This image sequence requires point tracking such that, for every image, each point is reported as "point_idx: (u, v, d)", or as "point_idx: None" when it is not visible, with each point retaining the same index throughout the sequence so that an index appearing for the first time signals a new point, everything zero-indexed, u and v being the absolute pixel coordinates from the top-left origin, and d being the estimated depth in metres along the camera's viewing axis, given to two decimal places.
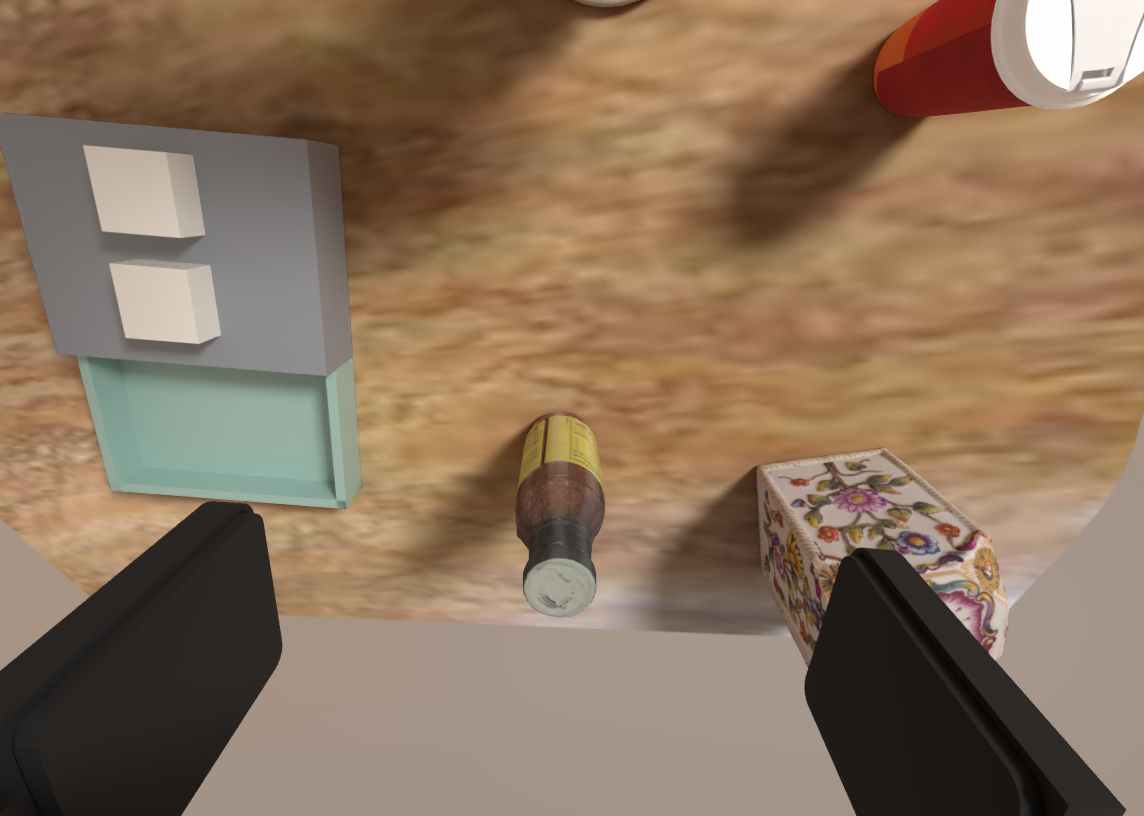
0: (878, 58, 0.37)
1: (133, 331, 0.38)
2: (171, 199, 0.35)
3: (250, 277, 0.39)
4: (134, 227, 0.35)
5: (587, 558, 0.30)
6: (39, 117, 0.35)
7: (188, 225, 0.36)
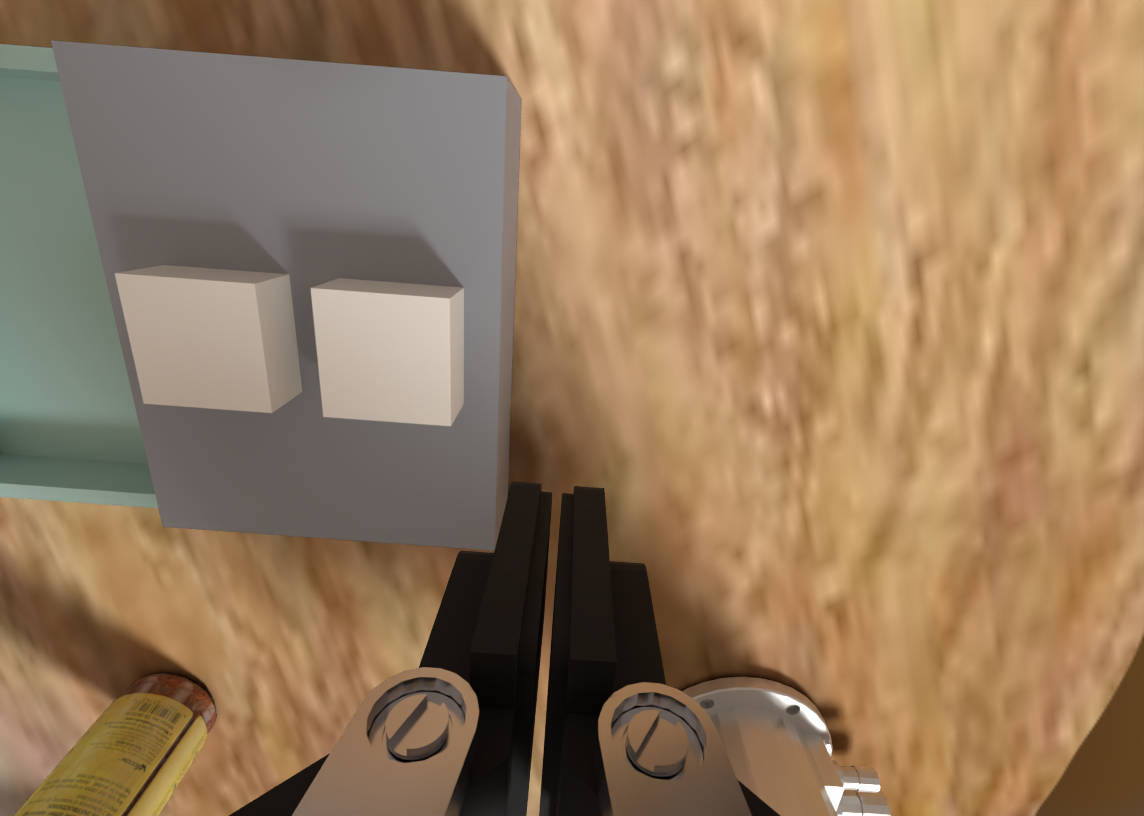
0: None
1: (132, 292, 0.20)
2: (381, 417, 0.22)
3: (294, 446, 0.25)
4: (327, 347, 0.21)
5: None
6: (502, 169, 0.21)
7: None
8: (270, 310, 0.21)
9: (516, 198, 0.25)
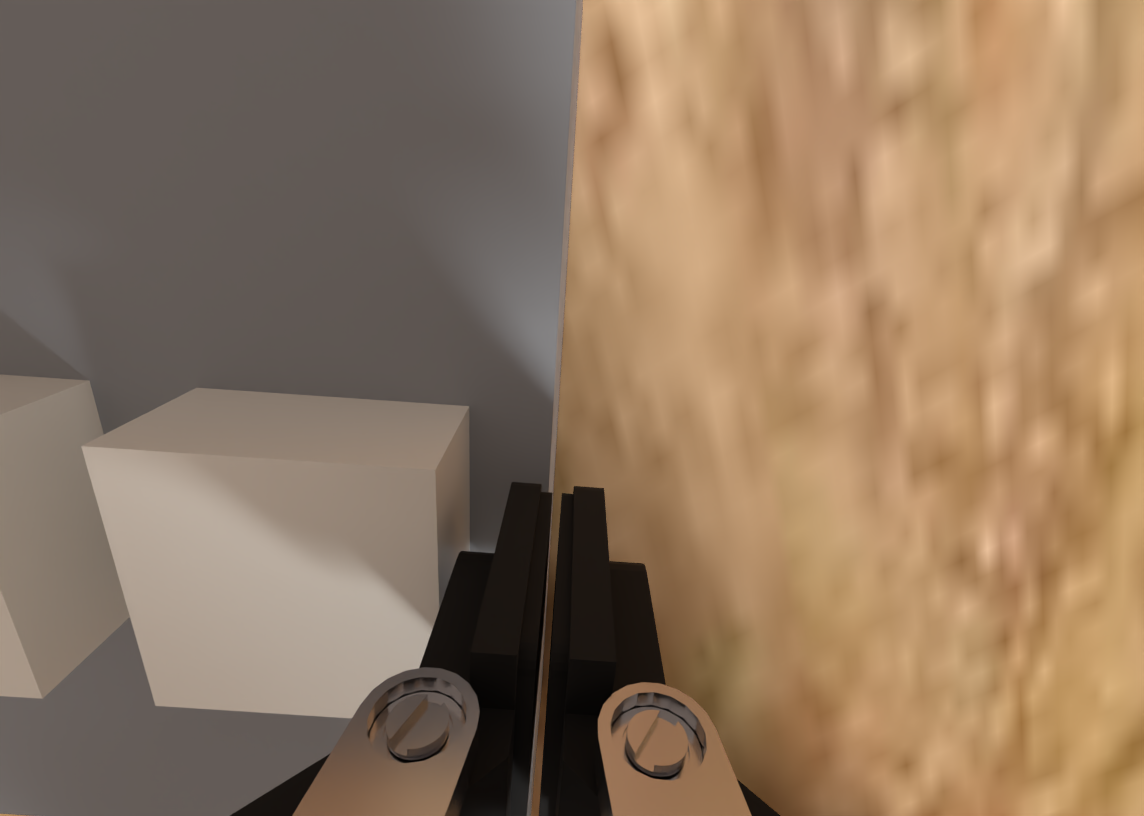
0: None
1: None
2: (285, 707, 0.10)
3: (145, 690, 0.13)
4: (143, 573, 0.09)
5: None
6: (562, 142, 0.09)
7: None
8: (19, 479, 0.09)
9: None
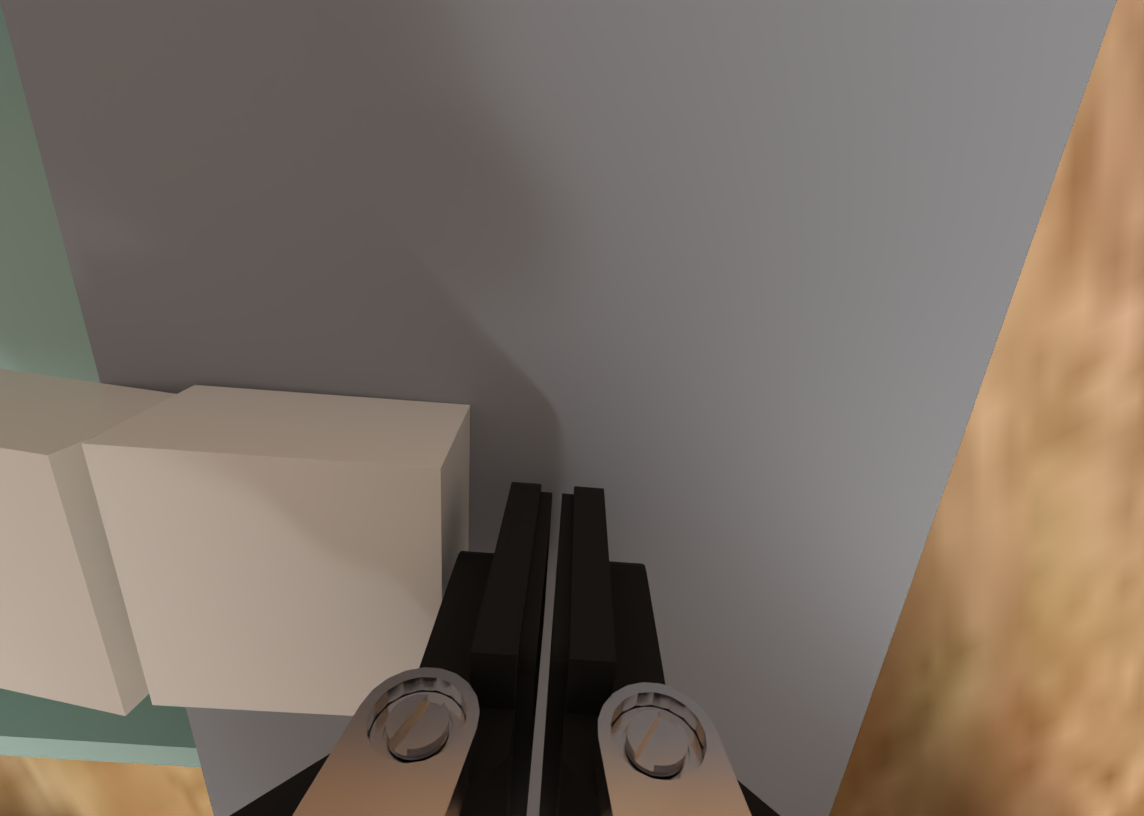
0: None
1: None
2: (284, 706, 0.10)
3: None
4: (142, 571, 0.09)
5: None
6: (1049, 178, 0.09)
7: None
8: None
9: None
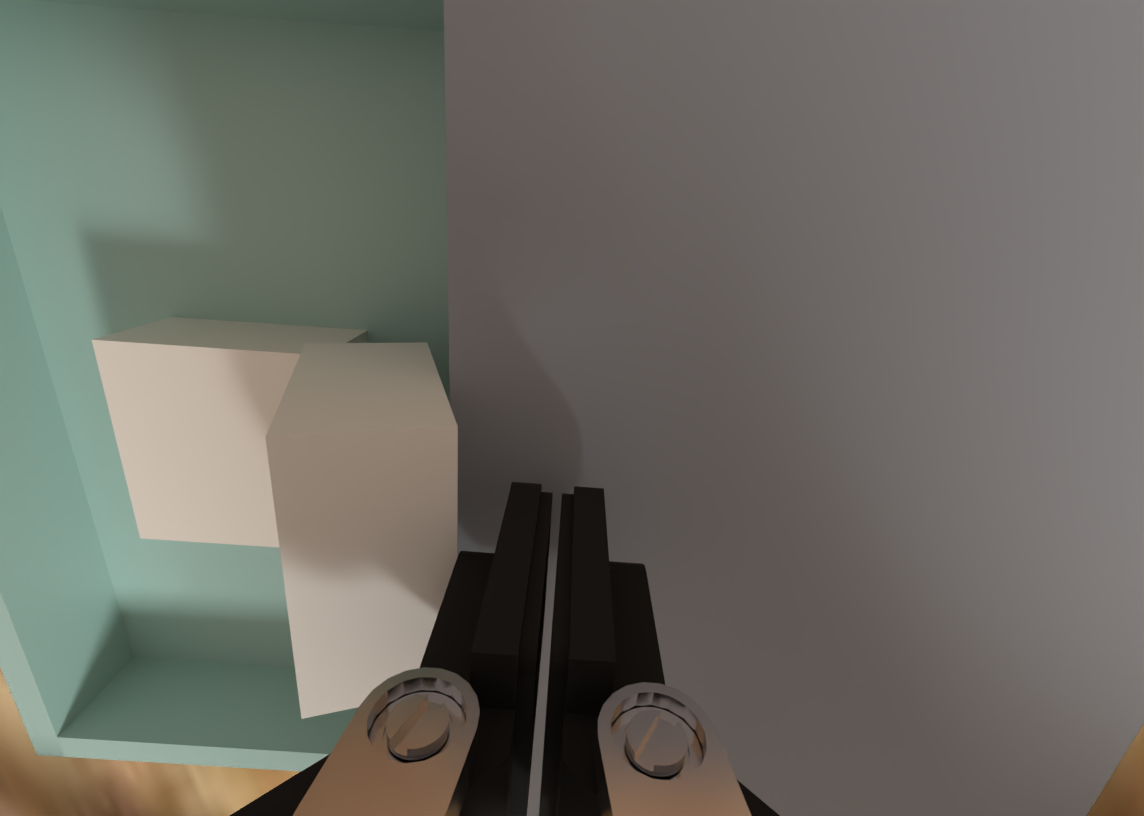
0: None
1: None
2: None
3: (744, 724, 0.13)
4: None
5: None
6: None
7: None
8: None
9: None
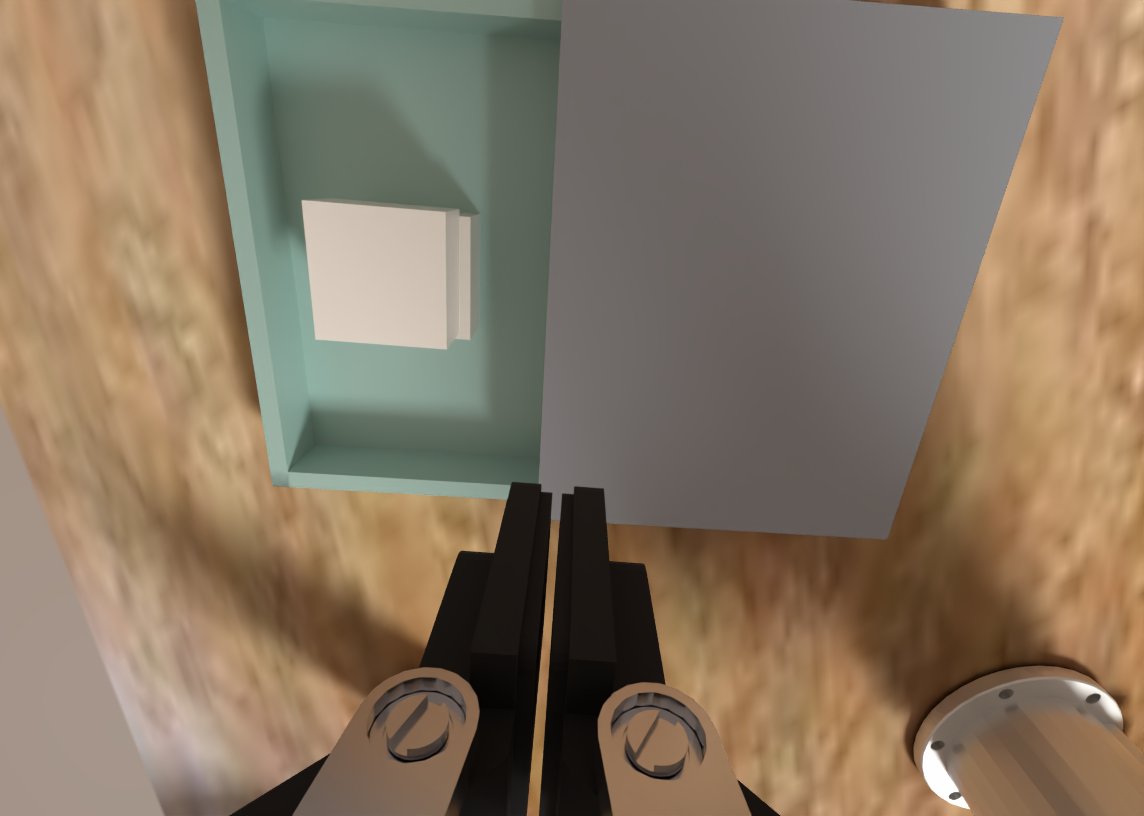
0: None
1: None
2: None
3: (704, 431, 0.23)
4: None
5: None
6: (1026, 123, 0.19)
7: None
8: None
9: None
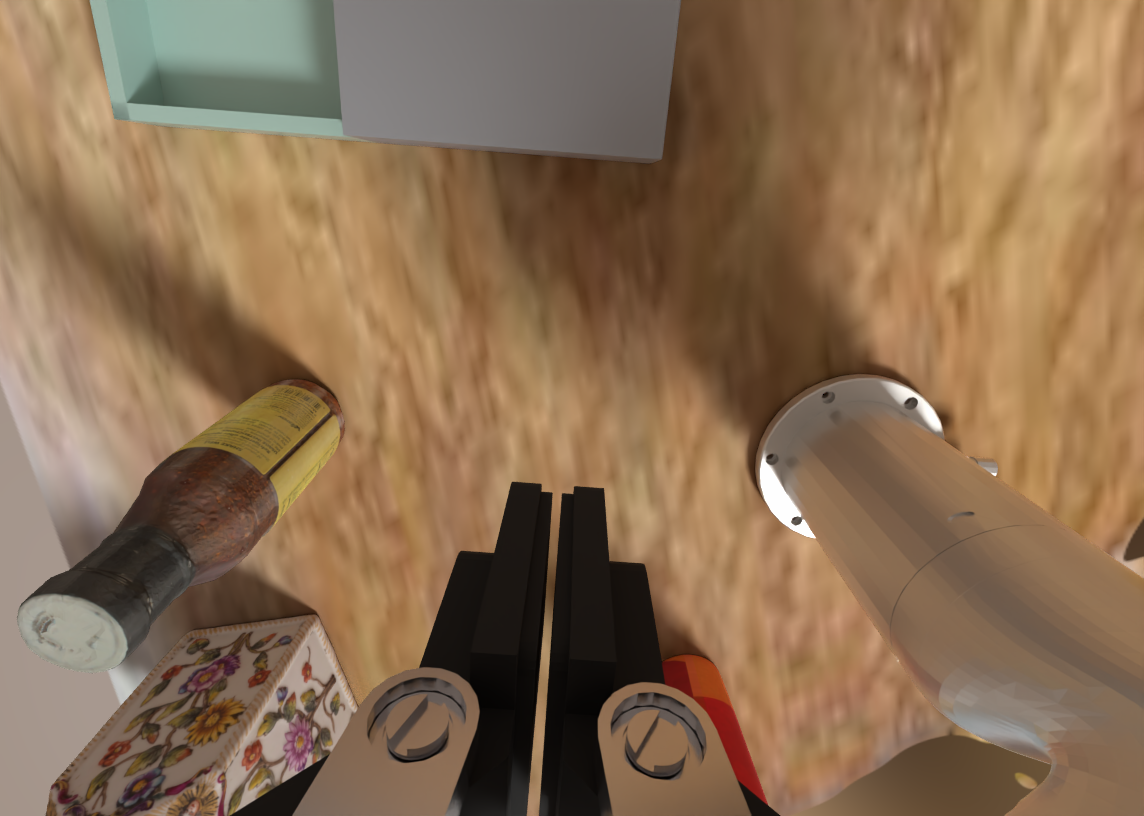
0: (695, 657, 0.46)
1: None
2: None
3: (481, 32, 0.26)
4: None
5: (137, 646, 0.22)
6: None
7: None
8: None
9: None
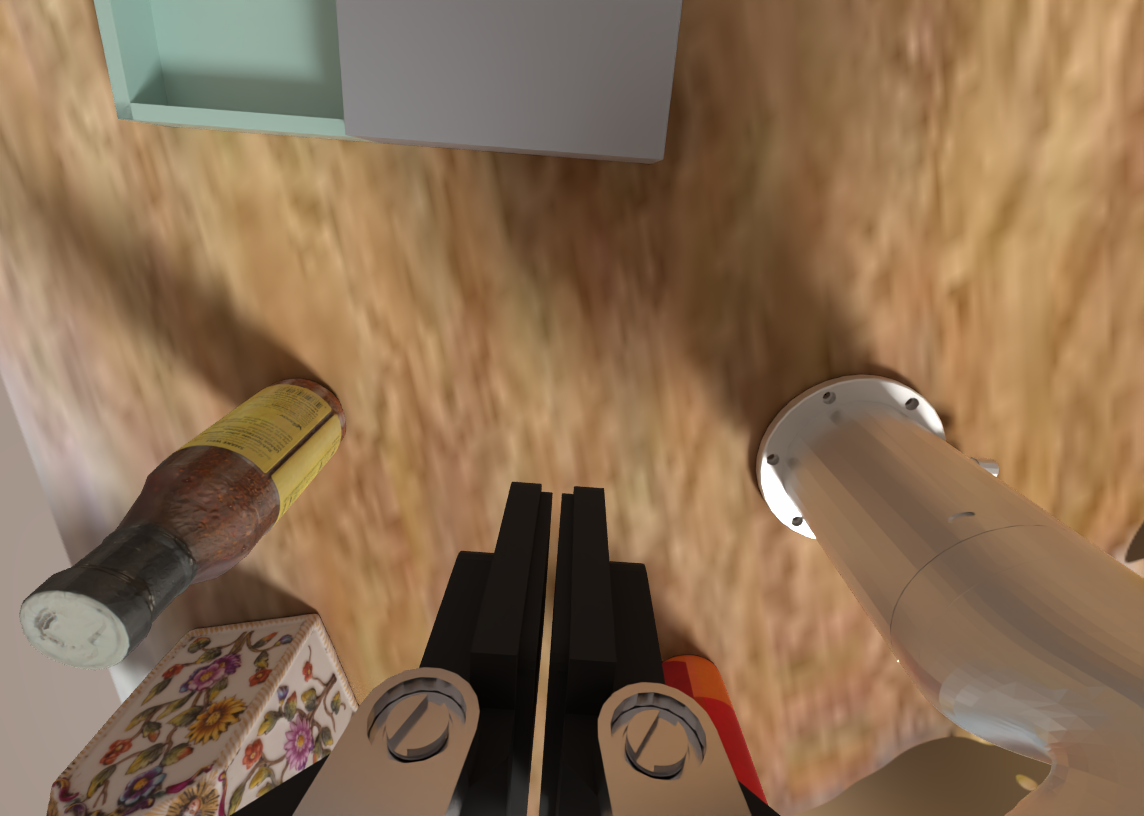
0: (695, 658, 0.46)
1: None
2: None
3: (483, 32, 0.26)
4: None
5: (138, 643, 0.22)
6: None
7: None
8: None
9: None
